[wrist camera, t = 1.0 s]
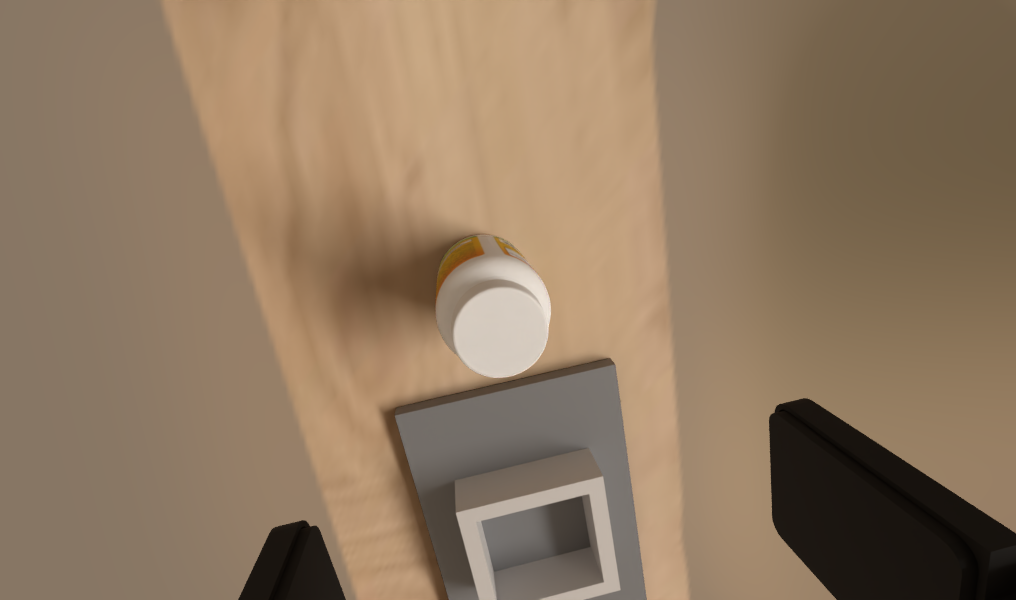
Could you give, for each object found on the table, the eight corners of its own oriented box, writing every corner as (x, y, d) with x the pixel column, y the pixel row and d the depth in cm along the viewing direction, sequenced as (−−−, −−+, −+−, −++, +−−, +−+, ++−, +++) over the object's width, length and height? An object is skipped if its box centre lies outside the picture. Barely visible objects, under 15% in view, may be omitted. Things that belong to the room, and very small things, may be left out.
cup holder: (396, 407, 30) (389, 443, 27) (610, 358, 31) (633, 385, 28) (463, 639, 36) (466, 695, 33) (642, 591, 37) (664, 641, 34)
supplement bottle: (436, 320, 29) (432, 395, 20) (437, 231, 28) (434, 268, 19) (524, 321, 30) (560, 394, 21) (530, 234, 29) (571, 271, 19)
